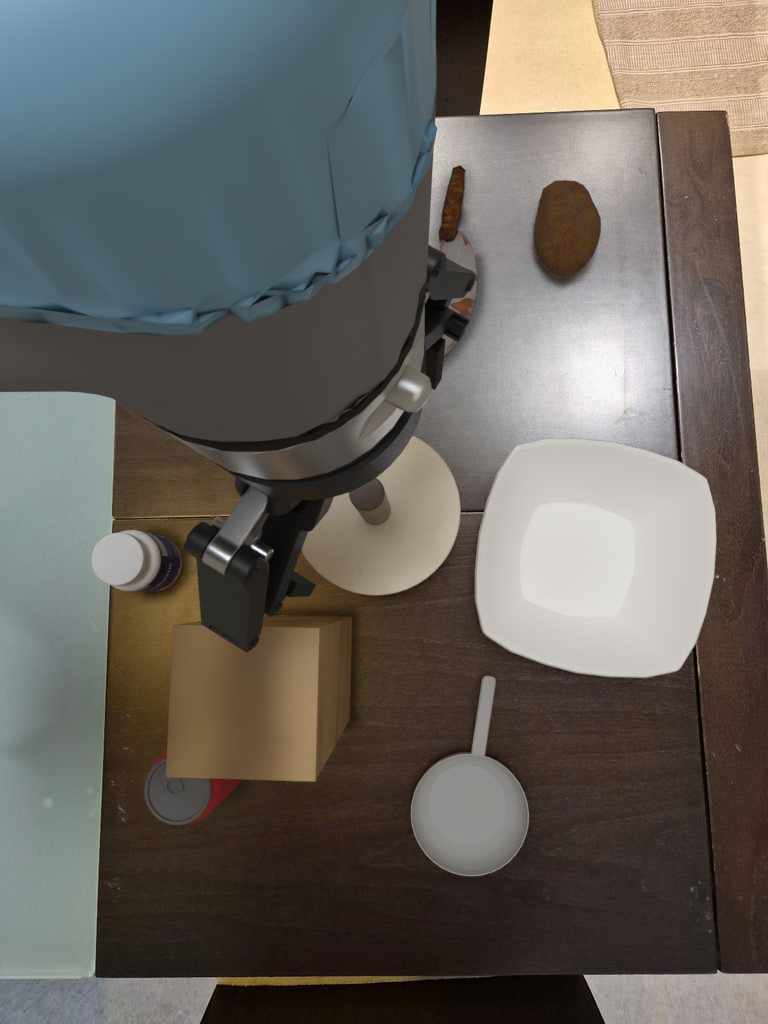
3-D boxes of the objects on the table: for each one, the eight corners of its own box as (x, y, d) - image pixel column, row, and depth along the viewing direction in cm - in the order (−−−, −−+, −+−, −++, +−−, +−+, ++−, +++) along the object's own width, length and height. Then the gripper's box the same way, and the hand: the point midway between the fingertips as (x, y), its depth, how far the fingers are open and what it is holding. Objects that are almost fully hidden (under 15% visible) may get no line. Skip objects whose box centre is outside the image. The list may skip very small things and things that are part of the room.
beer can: (218, 709, 73) (179, 732, 61) (264, 758, 72) (233, 791, 60) (170, 757, 72) (121, 789, 60) (215, 807, 72) (174, 849, 60)
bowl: (489, 440, 74) (498, 421, 66) (695, 476, 73) (732, 461, 64) (453, 643, 72) (458, 650, 64) (664, 684, 71) (698, 697, 62)
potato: (587, 193, 77) (602, 158, 70) (600, 282, 76) (616, 255, 69) (524, 201, 77) (533, 167, 71) (536, 290, 76) (546, 263, 70)
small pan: (403, 851, 70) (402, 865, 66) (431, 662, 72) (432, 666, 68) (515, 871, 70) (520, 887, 66) (541, 681, 71) (548, 685, 68)
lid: (291, 594, 60) (262, 594, 49) (296, 430, 61) (269, 393, 50) (459, 596, 59) (469, 597, 48) (460, 430, 60) (469, 393, 49)
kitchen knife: (464, 369, 75) (416, 360, 74) (462, 373, 76) (414, 364, 76) (498, 171, 76) (451, 161, 76) (495, 179, 78) (449, 169, 77)
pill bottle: (152, 603, 74) (111, 604, 64) (117, 561, 75) (71, 555, 65) (195, 565, 74) (161, 561, 64) (160, 523, 75) (120, 513, 65)
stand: (248, 716, 72) (165, 777, 49) (252, 614, 74) (172, 624, 50) (349, 719, 72) (315, 782, 48) (352, 616, 73) (319, 627, 49)
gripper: (160, 824, 19) (296, 703, 40) (632, 45, 21) (525, 321, 42) (-70, 671, 20) (182, 631, 41) (405, -69, 22) (412, 259, 43)
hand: (356, 474), depth 41 cm, fingers open, 13 cm apart
